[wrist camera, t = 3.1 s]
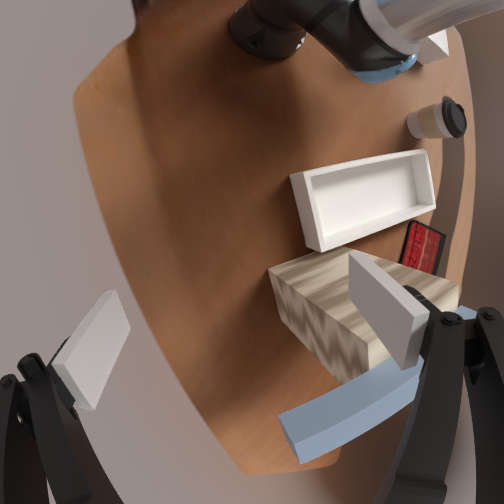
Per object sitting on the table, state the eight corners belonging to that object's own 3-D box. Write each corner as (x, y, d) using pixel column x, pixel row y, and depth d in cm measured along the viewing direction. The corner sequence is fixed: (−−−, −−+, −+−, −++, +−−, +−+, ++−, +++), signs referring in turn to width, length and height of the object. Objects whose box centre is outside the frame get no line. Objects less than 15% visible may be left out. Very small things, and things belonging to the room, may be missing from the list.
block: (277, 415, 22) (293, 444, 19) (461, 305, 28) (484, 315, 24) (285, 437, 23) (300, 464, 20) (458, 330, 29) (479, 341, 25)
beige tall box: (267, 268, 52) (367, 343, 23) (335, 244, 55) (458, 283, 26) (280, 319, 55) (369, 414, 26) (343, 292, 58) (451, 354, 29)
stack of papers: (395, -13, 47) (415, -25, 37) (418, 5, 51) (438, -6, 40) (396, 45, 51) (422, 32, 41) (422, 65, 54) (449, 56, 44)
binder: (447, 235, 62) (426, 308, 65) (441, 234, 65) (421, 306, 67) (412, 217, 58) (389, 302, 61) (406, 217, 61) (383, 299, 63)
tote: (289, 174, 50) (303, 172, 44) (408, 150, 56) (425, 148, 51) (306, 246, 53) (321, 252, 48) (418, 206, 60) (436, 208, 54)
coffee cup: (422, 149, 58) (468, 145, 43) (400, 128, 55) (447, 119, 41) (428, 123, 57) (471, 116, 43) (407, 102, 54) (451, 89, 40)
